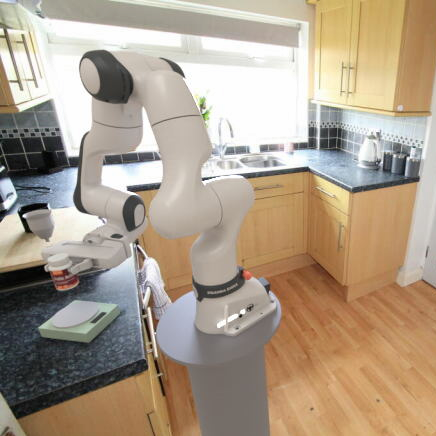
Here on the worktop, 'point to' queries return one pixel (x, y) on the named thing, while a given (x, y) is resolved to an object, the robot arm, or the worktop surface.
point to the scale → (80, 321)
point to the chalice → (40, 223)
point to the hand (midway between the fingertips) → (59, 270)
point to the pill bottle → (62, 272)
